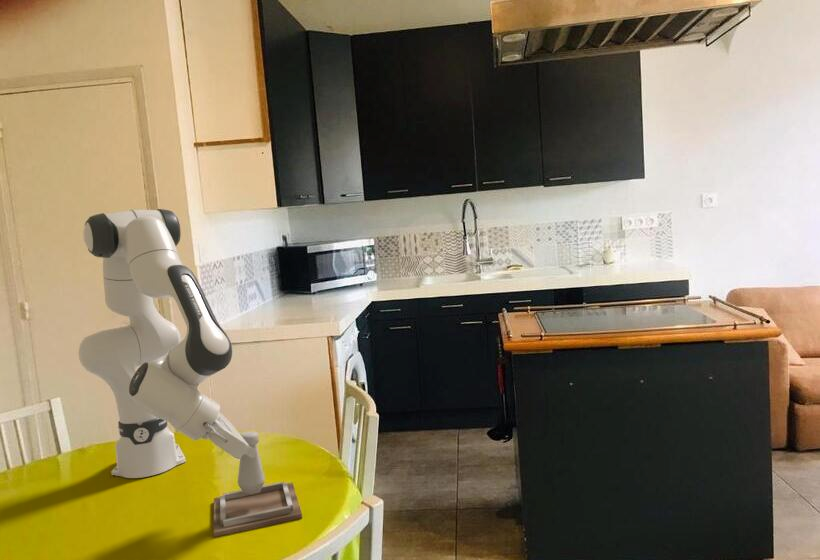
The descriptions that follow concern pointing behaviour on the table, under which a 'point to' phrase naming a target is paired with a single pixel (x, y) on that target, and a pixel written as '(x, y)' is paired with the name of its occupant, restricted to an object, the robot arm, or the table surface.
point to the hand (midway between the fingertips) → (252, 451)
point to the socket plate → (255, 508)
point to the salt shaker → (251, 467)
